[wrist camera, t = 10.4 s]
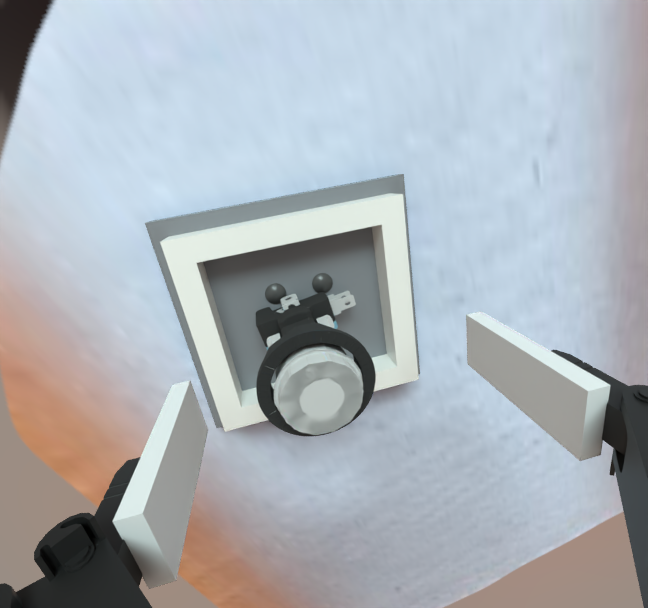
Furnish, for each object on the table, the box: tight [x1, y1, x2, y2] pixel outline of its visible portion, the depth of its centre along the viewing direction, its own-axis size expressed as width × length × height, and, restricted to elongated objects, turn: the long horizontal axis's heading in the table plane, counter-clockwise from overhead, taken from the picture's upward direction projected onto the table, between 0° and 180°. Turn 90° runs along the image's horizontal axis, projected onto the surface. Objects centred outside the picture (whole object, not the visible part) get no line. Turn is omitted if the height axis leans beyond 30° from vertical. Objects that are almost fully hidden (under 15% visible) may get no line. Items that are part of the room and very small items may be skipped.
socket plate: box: [145, 174, 420, 432], centre depth 23 cm, size 16×15×3 cm
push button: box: [256, 291, 376, 436], centre depth 19 cm, size 7×5×10 cm
